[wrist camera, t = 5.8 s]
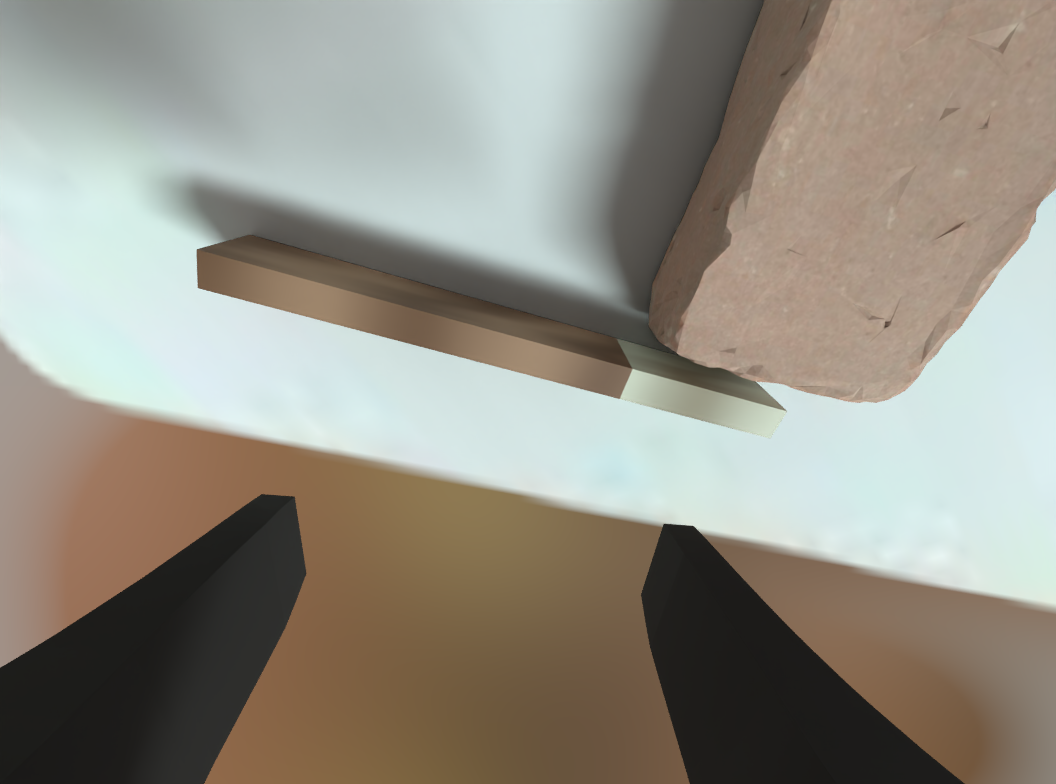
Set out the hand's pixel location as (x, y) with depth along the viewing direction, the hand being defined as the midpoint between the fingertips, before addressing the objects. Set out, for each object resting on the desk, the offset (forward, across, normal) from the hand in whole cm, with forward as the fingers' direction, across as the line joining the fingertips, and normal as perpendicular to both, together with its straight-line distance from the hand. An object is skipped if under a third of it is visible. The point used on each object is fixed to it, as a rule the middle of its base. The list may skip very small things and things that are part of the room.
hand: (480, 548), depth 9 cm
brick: (+7, -6, -10) cm, 14 cm away
